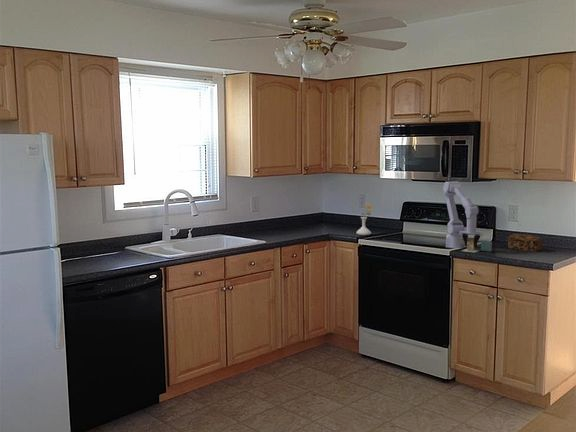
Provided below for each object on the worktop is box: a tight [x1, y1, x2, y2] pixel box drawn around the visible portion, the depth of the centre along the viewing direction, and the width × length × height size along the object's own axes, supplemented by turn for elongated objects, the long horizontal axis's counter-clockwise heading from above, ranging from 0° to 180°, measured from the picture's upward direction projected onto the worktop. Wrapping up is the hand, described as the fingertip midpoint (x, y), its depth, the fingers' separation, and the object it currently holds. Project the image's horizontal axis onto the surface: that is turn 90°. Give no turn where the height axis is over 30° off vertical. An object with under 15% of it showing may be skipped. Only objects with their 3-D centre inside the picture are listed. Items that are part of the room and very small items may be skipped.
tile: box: [480, 240, 492, 252], centre depth 353 cm, size 6×1×7 cm, turn 52°
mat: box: [461, 248, 481, 253], centre depth 355 cm, size 9×9×1 cm
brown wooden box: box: [466, 237, 476, 251], centre depth 354 cm, size 4×2×8 cm, turn 52°
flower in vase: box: [356, 202, 374, 236], centre depth 427 cm, size 13×11×25 cm
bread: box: [507, 232, 543, 253], centre depth 361 cm, size 19×11×10 cm, turn 44°
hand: (470, 246), depth 354 cm, fingers open, 5 cm apart
